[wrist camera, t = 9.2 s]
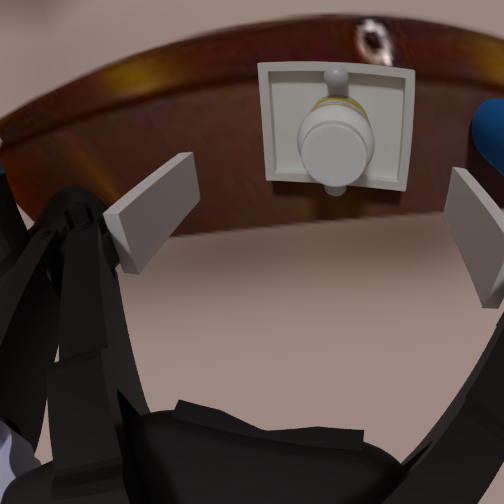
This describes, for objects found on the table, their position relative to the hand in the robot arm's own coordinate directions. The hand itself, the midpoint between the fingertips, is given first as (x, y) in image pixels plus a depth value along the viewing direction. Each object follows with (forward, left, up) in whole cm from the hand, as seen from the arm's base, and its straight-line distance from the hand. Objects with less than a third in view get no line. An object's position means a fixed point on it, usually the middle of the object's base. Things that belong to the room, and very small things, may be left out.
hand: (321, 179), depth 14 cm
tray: (0, 0, -15) cm, 15 cm away
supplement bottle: (0, 0, -14) cm, 14 cm away
